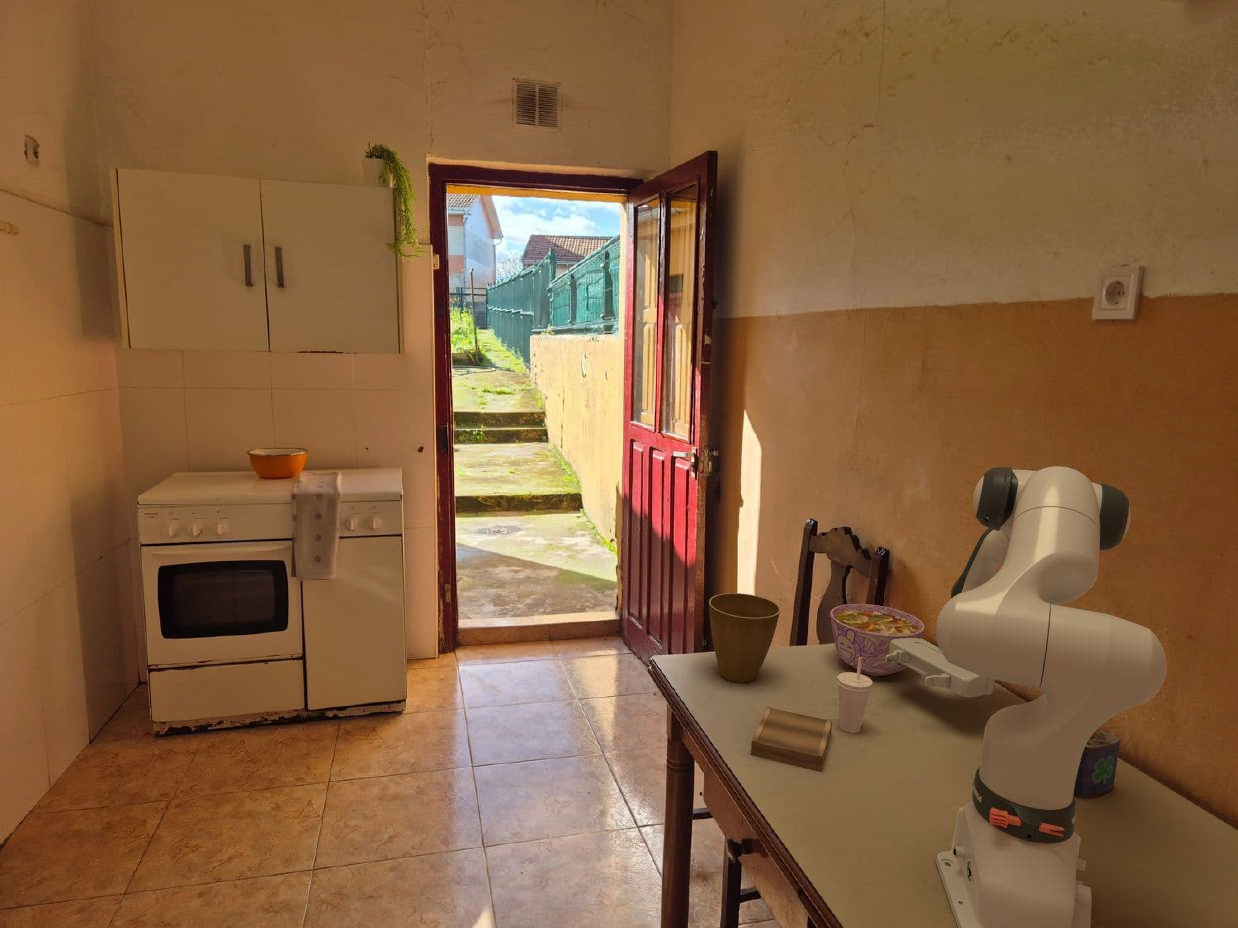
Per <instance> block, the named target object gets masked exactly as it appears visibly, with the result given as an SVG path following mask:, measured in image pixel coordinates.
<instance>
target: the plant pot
mask: <svg viewBox="0 0 1238 928" xmlns="http://www.w3.org/2000/svg"><path fill="white" fill-rule="evenodd" d="M708 609H709V622H710V623H709V624H710V631H711V636H712V637H711V638H712V644H713V647H714V653H715V657H716V660H717V664H718V669H719V671H720V674H721V676H722V677H723V678H724V679H726V680H728V681H730V682H734V683H741V684H744V683H745V684H746V683H750V682H753V681H755V680H756V678H757V676H758V674H759V673H760V670H761V668H762V667H763V665H764V662H765V660H766V657H767V656H768V653H769V650H770V647H771V644H772V642H773V639H774V636H775V632H776V630H777V629H776V628H777V626H778V621H779V618H780V613H781V606H780V605H778V603H776V602H775V601H773V600H771V599H769V598H765V597H762V596H758V595H754V594H750V593H749V594H748V593H740V592H725V593H719V594H716V595H714V596H712V597H710V598H709V600H708Z"/></svg>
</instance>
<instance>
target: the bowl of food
mask: <svg viewBox="0 0 1238 928" xmlns="http://www.w3.org/2000/svg"><path fill="white" fill-rule="evenodd" d="M829 616H830V622H831V628H832V629H831V630H832V635H833V636H832V637H833V641H834V646H835V647H834V648H835V650H836V652H837V654H838V656H839V658H840V659H841V660H842V661H843V662H845V663H846V664H847V665H849V666H850V667H853V669H854V670H855V671H857V669H858V659H859V657H861V658H862V660H861V670H860V674H863V675H867V676H873V677H874V676H875V677H884V676H888V675H889V674H891V675H892V674H895V673H899V672H901V671H903V670H904V669H906V668H908V667H907V666H906V665H904V664H902V663H900V662H898V661H897V665H895V666H890V665H888V664H886V663H885V657H886V655H889V646H890V642H891V640H893V639H901V638H918V639H921V640H922V636H923V632H924V630H925V627H926V626H925V624H924V622H923V621H922V620H920V619H919V618H917V616H915V615H913V614H910V613H908V612H905V611H903V610H898V609H895V608H892V607H888V606H884V605H883V606H882V605H877V604H870V603H869V604H867V603H848V604H842V605H838V606H835V607H833V608H832V609H831V610H830V612H829Z"/></svg>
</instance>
